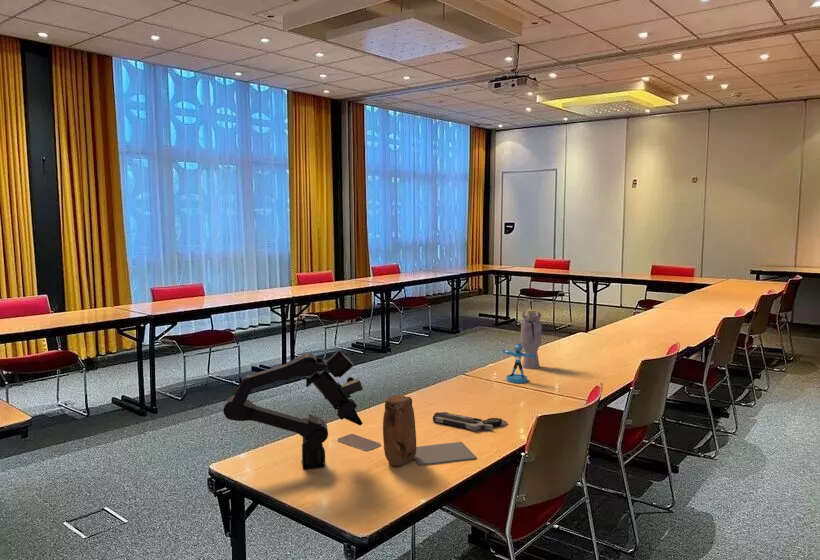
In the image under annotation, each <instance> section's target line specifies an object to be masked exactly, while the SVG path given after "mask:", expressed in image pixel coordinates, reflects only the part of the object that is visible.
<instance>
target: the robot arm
mask: <svg viewBox="0 0 820 560" xmlns="http://www.w3.org/2000/svg"><path fill="white" fill-rule="evenodd" d="M354 366H355V365H354V363H353V361H351V359H350V358H349V357H348V356H347V355H345V354H344V352H342V351H341V349H338V350H336V352H335V353H333V355H332V356H331V357H330V358H328V359H326V358H322V357H317V356H315V354H313V353H310V352H305V353H303V354H300V355H299V356H297V357H295V358H294V359H292V360H290V361H289V362H287V363H284V364H281V365H278V366H275V367H272V368H269V369H265V370H262V371H258V372H256V373H252V374H246V375H244V376H242V379H241V382H240V383H239V386H238V388H237V389H236V391H235V392H234V394H233V395H232V396H229V398H227V400H226V401H225V404H224V407H223V415H224V417H225V418H226V419H227V420H229V421H236V422H248V421H249V422H251V421H254V422H257V423H260V424H263V425H267V426H271V427H275V428H278V429H281V430H285V431H289V432H293V433H296V434H298V435H299V436H301V437H302V443H301V465H302V470H310V469H317V468H319V469H320V468H325V463H326V450H325V447H324V446H323V443H324V442H325V441H327V440H328V438H329V437H328V436H329V431H328V430H329V429H328V424H327V423H326V421H325V420H323V419H322V417H321V416H315V415H312V414H310V413H308V416H307V417H305V418H300V417H296V416H293V415H290V414H286V413H282V412H279V411H276V410H272V409H268V408H265V407H262V406H259V405H256V404H255V403H254V402H252V401H251V400H249V399H248V397H249V395H250V394H251V392H252V390H254V389H256V388H260V387H262V386H266V385H270V384H272V383H275V382H278V381H283V380H285V379H289V378H302V377H305V381H306V384H305V387H306V388H308V387H310V386H311V384H312V385H314V387H315V388H316V389H317V390H318V392H319V393H321V394H322V397H324V399H325V400H327V402H328V403H329V404H330V405H331V406H332V408H333V409H334V410H335V411H336V413H335V414H336V415H337V417H338V418H339V419H340V420H341V421H342V420H344V419H345V420H347V421H349V422H352V423H353V424H356V425H358V426H362V424H363V422H362V420H361V418H360V416H359V415H358V413H357V411H356V408H357V407H358V404H357V403H356V402H355V400H354V399H353V398H351V397H352V395H353V394H355V393H357V392H361V391H363V389H364V388H363V385H362V383H361V380H360V379H359V378H357V377H356V378H354V377H352V376H349V377H347V378H346V382H344V383H343V384H341V383H340V382H337V381H336V380H335V378H342V377H343V376H344V375H345V374H346V373H347V372H348V371H350V370H351V369H353V367H354Z"/></svg>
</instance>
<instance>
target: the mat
mask: <svg viewBox="0 0 820 560" xmlns="http://www.w3.org/2000/svg"><path fill="white" fill-rule="evenodd" d="M413 460H415V462H416V463H418V464H417V465H418V466H419V467H422V466H427V465H429V466H430V465H438V464H446V463H453V462H454V463H455V462H461V461H462V462H464V461H470V460H478V457H477V456H476V455H475V453H473V452H472V451H471V449H470V448H469V447H467V446H466V445H465V443H463V441H457V442H448V443H446V442H445V443H439V444H429V445H419V446H416V455H415V456H414V458H413Z"/></svg>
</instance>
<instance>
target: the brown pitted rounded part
mask: <svg viewBox="0 0 820 560" xmlns="http://www.w3.org/2000/svg"><path fill="white" fill-rule="evenodd" d="M382 420H383V421H382V437H383V451H384V457H385V458H386V460H387V462H388V464H389V465H390V466H395V467H397V466H401V465H403V464H406V463H409V462H410V461H411V460H414V456H415V455H416V447H417V431H416V430H417V429H416V418H415V410H414V407H413V399H412V397H411V396H406V395H403V394H395V395H393V396H390V397H388V398H387V399H386V400H385V402H384V412H383V419H382Z"/></svg>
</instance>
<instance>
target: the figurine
mask: <svg viewBox="0 0 820 560" xmlns="http://www.w3.org/2000/svg"><path fill="white" fill-rule="evenodd" d="M523 348H524V347H523V345H522V343H518V342H516V343H515V344H514V350H515V351H510V350H505V349H502V350H501V353H502V354H506V355H511V356H513V357H514V359H515V360H514V364H513V368H512V372H511V374H507V375H506V378H505V379H506V380H505V381H506V382H508V383H511V384H524V383H527V382H528V376H527V375H525V374H524V368H522V364H523V363H522V357H523V358H524V357H535V356H536V355H534V354H533V355H531V354H526V353H525V352H522V351H523ZM517 368H518V369H519V372H520V374H519V373H516V370H517Z"/></svg>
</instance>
